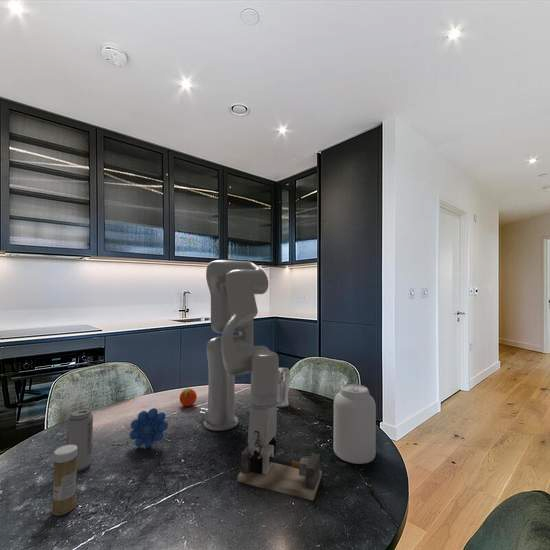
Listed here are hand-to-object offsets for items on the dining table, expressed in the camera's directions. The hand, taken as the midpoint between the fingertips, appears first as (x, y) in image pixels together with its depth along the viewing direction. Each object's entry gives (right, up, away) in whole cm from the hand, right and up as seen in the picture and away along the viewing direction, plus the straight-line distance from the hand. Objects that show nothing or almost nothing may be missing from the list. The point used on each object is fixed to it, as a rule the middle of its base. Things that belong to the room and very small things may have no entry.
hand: (263, 462), depth 84 cm
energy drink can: (-51, -3, +3) cm, 52 cm away
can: (+27, -4, +11) cm, 30 cm away
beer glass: (+6, -5, +49) cm, 49 cm away
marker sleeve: (0, -1, 0) cm, 1 cm away
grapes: (-37, -4, +14) cm, 39 cm away
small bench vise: (+4, -3, -2) cm, 6 cm away
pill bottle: (-45, -3, -14) cm, 47 cm away
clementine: (-33, -5, +46) cm, 57 cm away
